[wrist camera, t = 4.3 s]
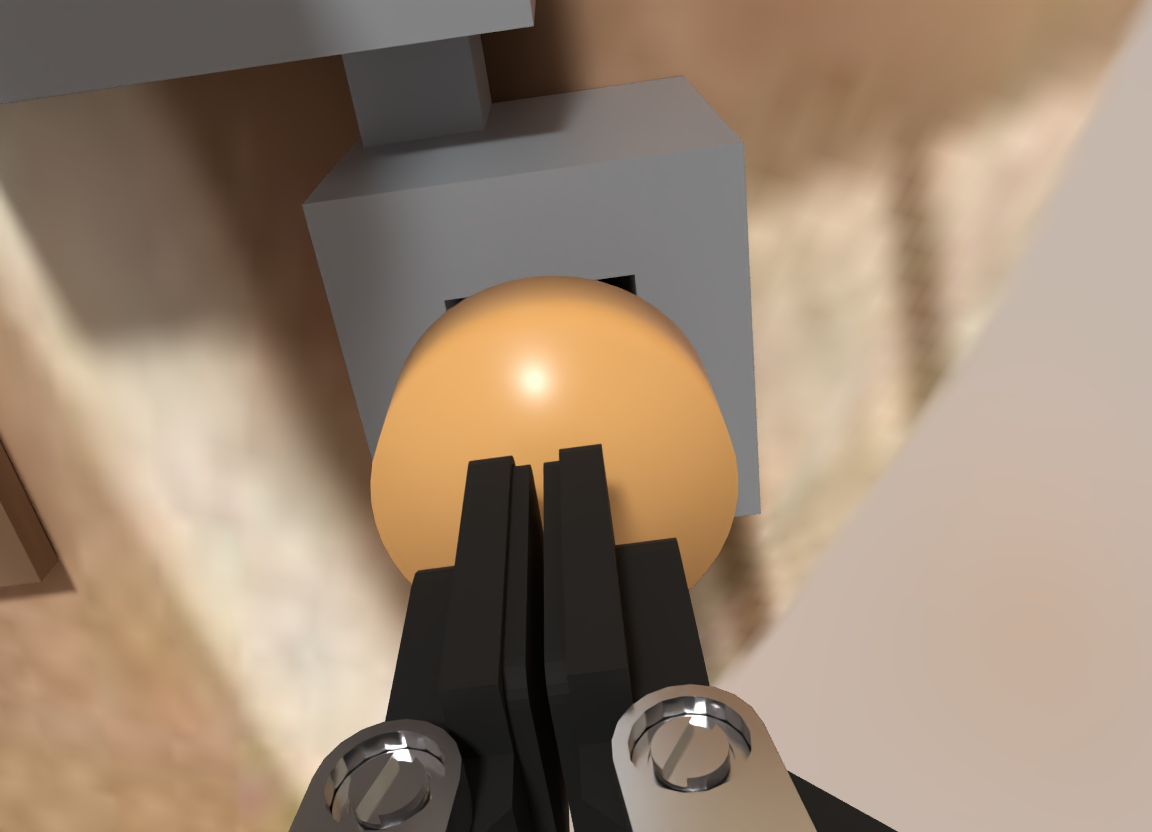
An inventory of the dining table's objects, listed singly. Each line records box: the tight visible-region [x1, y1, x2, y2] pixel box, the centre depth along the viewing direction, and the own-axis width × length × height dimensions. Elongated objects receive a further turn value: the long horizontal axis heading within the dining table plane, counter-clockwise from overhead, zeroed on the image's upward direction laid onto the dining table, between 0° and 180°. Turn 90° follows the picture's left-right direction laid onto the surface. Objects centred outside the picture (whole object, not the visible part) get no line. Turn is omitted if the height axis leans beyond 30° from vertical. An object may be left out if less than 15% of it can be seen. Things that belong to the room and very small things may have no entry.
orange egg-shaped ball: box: [370, 275, 738, 590], centre depth 15 cm, size 5×5×6 cm
